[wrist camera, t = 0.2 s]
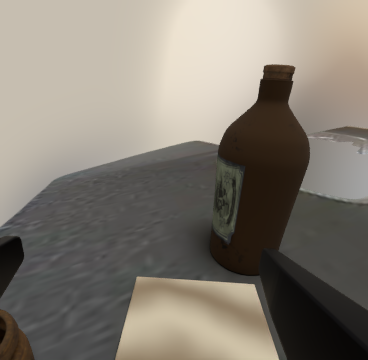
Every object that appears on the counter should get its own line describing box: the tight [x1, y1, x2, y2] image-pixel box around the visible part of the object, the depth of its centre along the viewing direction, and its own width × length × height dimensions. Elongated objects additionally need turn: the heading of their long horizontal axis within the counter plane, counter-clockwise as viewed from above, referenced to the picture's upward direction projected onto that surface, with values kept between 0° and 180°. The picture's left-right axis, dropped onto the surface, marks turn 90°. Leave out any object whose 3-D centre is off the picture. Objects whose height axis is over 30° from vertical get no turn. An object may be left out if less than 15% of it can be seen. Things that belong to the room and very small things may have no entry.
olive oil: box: [210, 65, 310, 275], centre depth 29 cm, size 11×11×25 cm
